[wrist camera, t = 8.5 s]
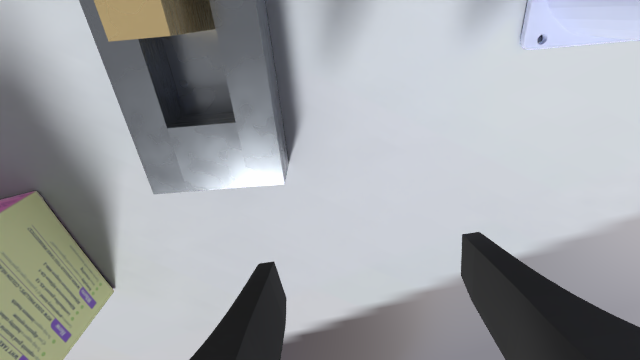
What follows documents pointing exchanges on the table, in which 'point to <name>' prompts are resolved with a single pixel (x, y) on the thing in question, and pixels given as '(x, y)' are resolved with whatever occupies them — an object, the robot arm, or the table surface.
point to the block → (201, 100)
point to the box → (43, 283)
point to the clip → (153, 18)
